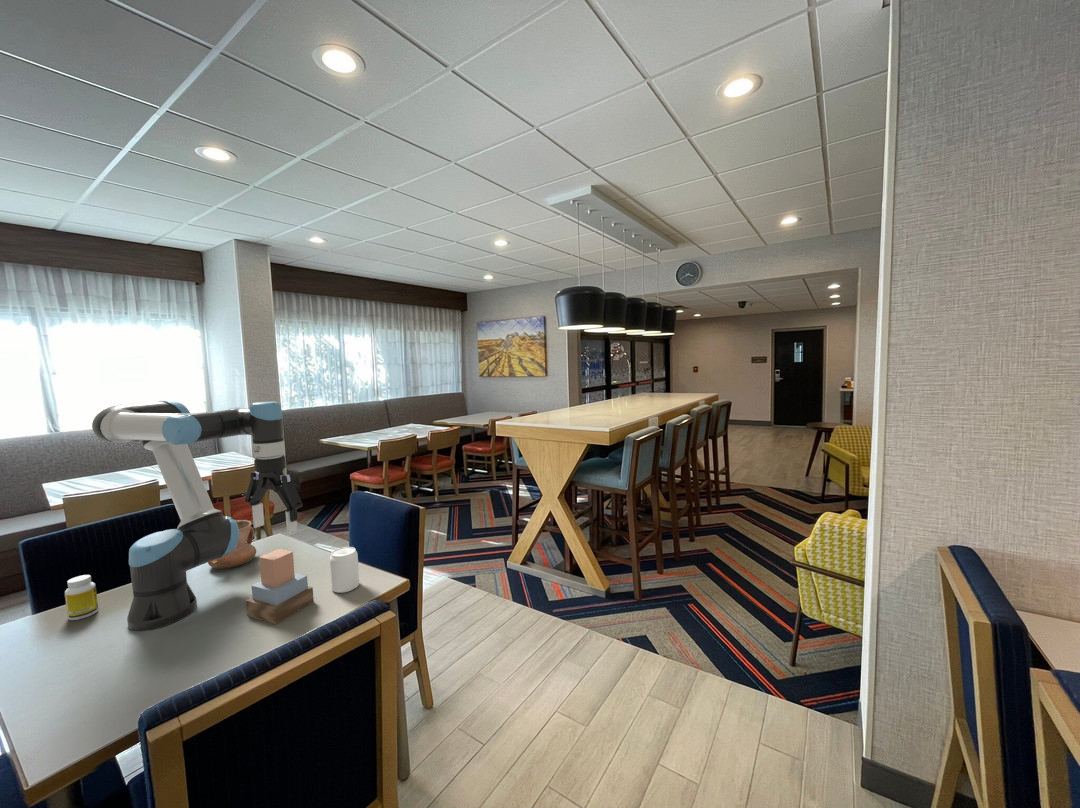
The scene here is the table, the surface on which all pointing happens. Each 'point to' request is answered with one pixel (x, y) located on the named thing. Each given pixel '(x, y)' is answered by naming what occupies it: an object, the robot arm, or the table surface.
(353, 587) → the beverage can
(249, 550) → the ceramic jug
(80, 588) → the pill bottle
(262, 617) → the walnut block
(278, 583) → the terracotta block
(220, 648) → the table surface
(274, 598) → the slate block
